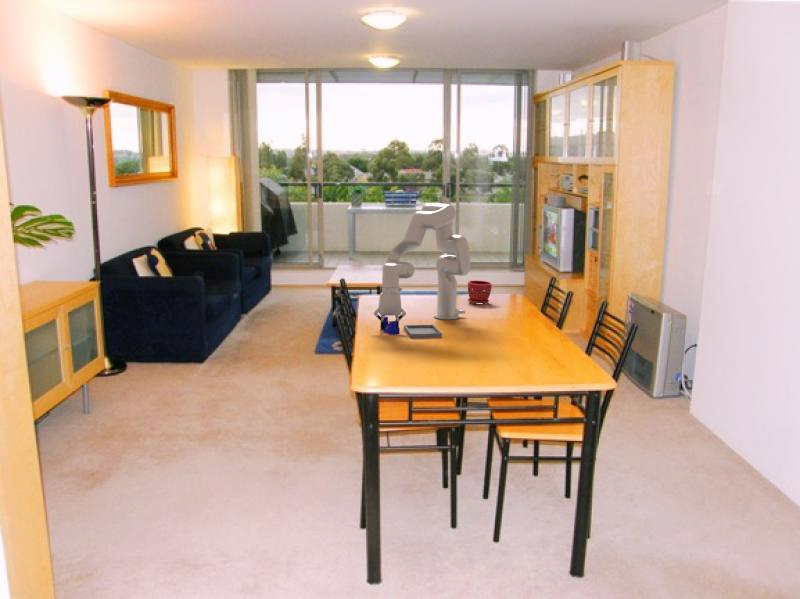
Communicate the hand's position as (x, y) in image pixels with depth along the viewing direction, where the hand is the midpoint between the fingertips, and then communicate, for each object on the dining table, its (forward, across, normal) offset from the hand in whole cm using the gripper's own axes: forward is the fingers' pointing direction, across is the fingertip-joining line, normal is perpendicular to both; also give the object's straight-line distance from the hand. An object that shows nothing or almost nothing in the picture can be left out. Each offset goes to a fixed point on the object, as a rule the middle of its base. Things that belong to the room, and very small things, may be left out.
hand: (389, 329), depth 329 cm
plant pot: (0, -60, -65) cm, 89 cm away
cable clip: (+1, 0, 0) cm, 1 cm away
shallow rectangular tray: (+1, -14, +5) cm, 15 cm away
